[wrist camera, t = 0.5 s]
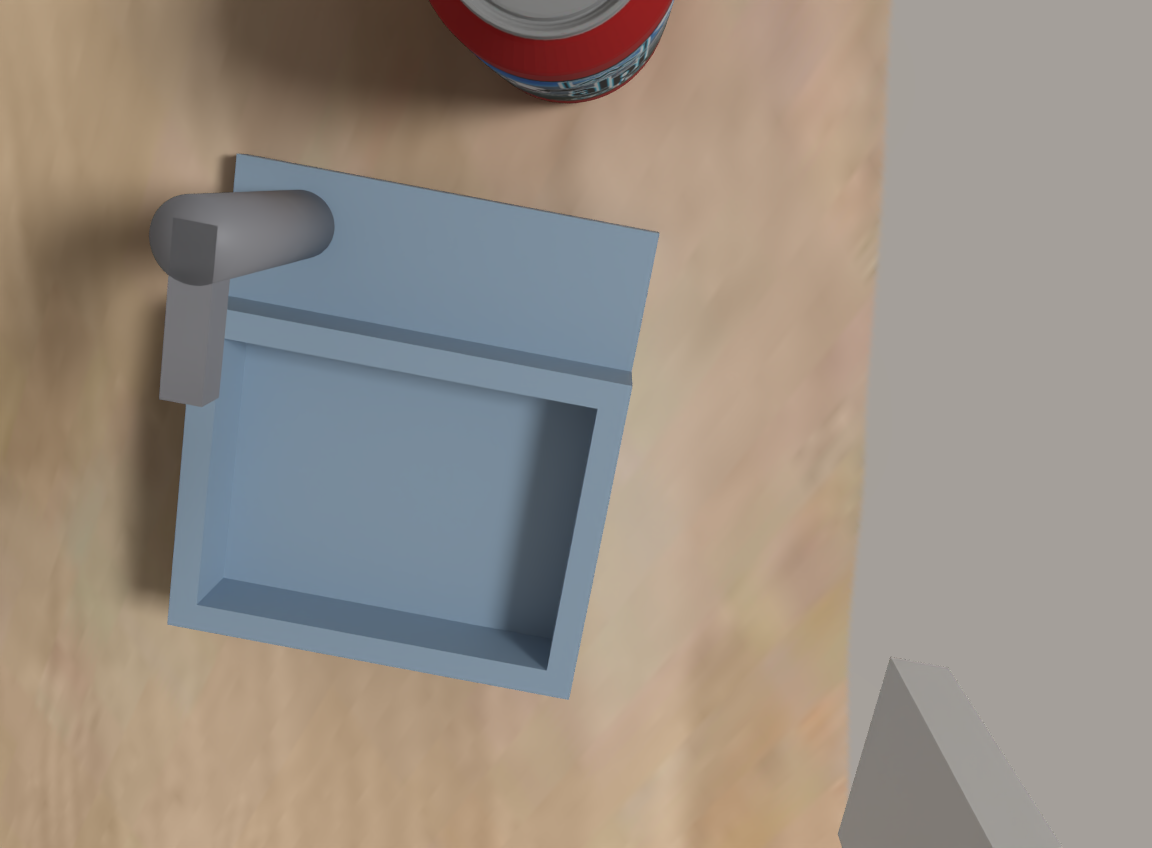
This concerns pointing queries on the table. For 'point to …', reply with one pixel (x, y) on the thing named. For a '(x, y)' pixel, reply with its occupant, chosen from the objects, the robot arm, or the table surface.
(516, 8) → the beverage can
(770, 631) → the table surface
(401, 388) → the light blue hollow tray
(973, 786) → the robot arm
